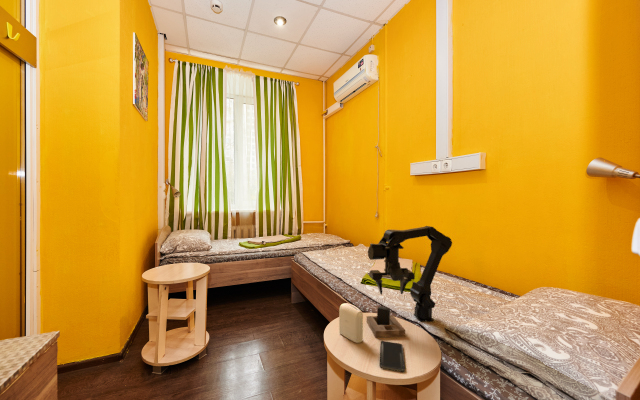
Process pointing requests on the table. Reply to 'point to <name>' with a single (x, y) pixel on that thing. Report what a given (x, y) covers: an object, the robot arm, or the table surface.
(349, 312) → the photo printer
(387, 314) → the ink cartridge
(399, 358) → the phone
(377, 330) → the slot board
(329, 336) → the table surface
